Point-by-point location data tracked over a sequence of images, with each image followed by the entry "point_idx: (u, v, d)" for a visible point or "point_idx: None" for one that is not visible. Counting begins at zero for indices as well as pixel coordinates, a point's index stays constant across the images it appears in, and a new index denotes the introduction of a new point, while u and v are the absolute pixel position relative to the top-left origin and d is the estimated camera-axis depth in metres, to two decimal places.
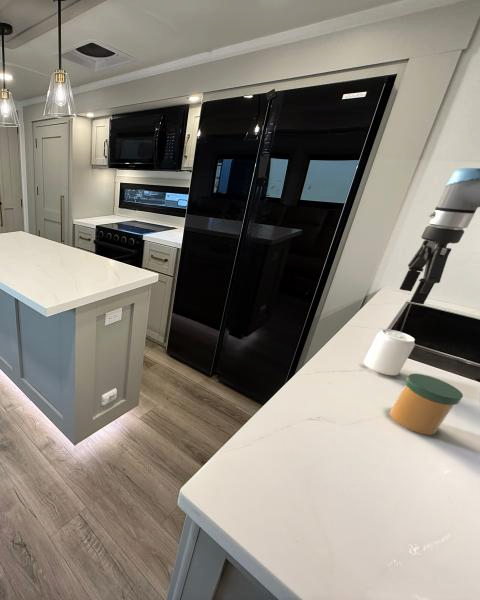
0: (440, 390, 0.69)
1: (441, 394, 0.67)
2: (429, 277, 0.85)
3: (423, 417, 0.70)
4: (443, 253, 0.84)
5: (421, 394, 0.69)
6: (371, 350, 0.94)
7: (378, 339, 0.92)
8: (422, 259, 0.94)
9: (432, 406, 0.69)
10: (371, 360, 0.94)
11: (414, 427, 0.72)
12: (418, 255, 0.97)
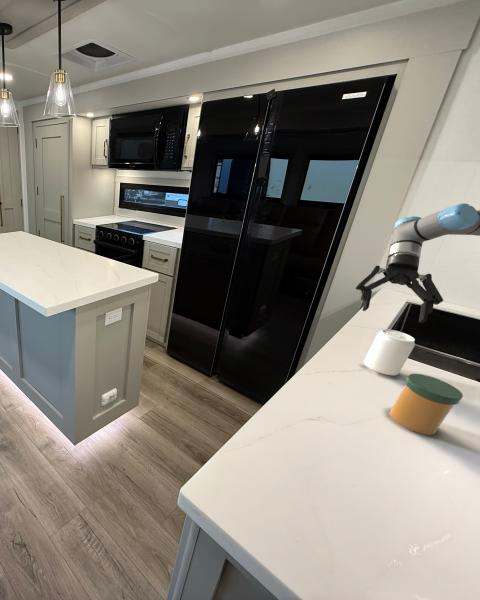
0: (440, 390, 0.69)
1: (441, 394, 0.67)
2: (357, 286, 1.05)
3: (423, 417, 0.70)
4: (373, 270, 1.05)
5: (421, 394, 0.69)
6: (371, 350, 0.94)
7: (378, 339, 0.92)
8: (412, 288, 0.99)
9: (432, 406, 0.69)
10: (371, 360, 0.94)
11: (414, 427, 0.72)
12: (427, 290, 0.98)
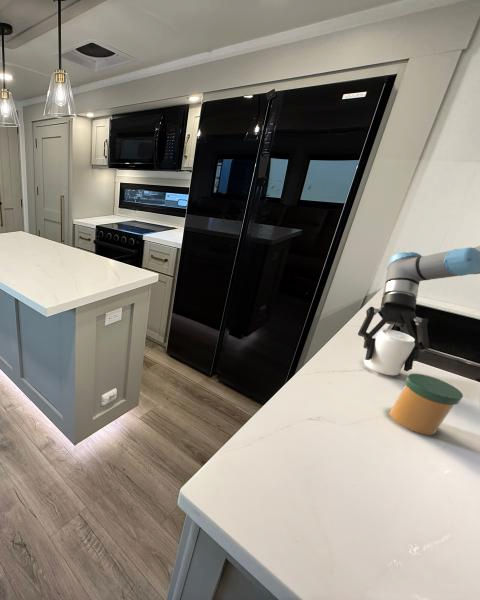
0: (440, 390, 0.69)
1: (441, 394, 0.67)
2: (358, 332, 0.98)
3: (423, 417, 0.70)
4: (368, 312, 0.98)
5: (421, 394, 0.69)
6: None
7: (378, 339, 0.92)
8: (404, 330, 0.93)
9: (432, 406, 0.69)
10: (371, 360, 0.94)
11: (414, 427, 0.72)
12: (418, 334, 0.92)
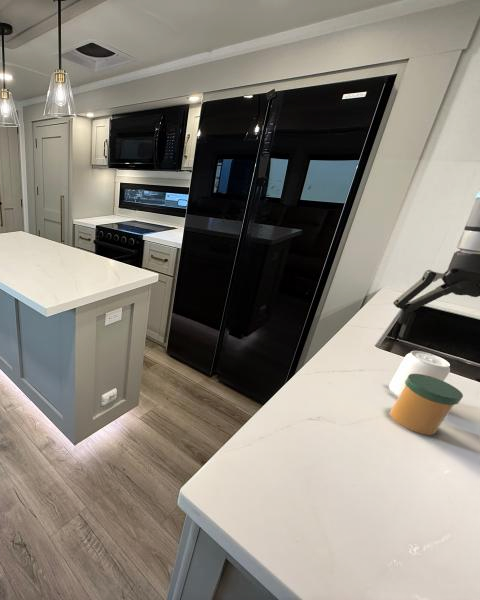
0: (440, 390, 0.69)
1: (441, 394, 0.67)
2: (396, 300, 0.74)
3: (423, 417, 0.70)
4: (424, 277, 0.70)
5: (421, 394, 0.69)
6: (398, 374, 0.83)
7: (407, 363, 0.81)
8: None
9: (432, 406, 0.69)
10: (398, 386, 0.83)
11: (414, 427, 0.72)
12: None
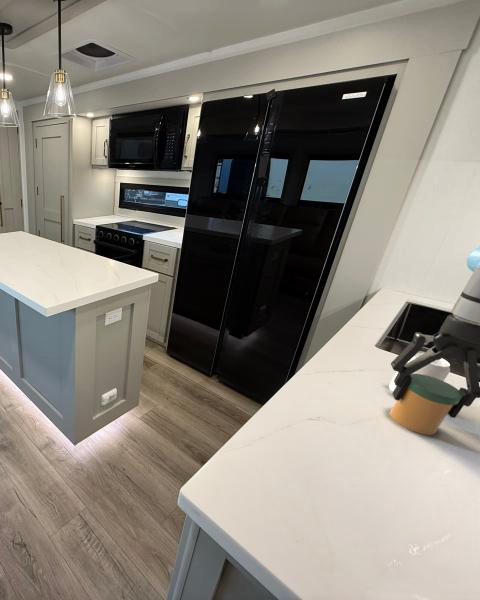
0: (440, 390, 0.69)
1: (441, 394, 0.67)
2: (392, 361, 0.74)
3: (423, 417, 0.70)
4: (415, 340, 0.70)
5: (421, 394, 0.69)
6: None
7: None
8: (465, 366, 0.67)
9: (432, 406, 0.69)
10: None
11: (414, 427, 0.72)
12: None
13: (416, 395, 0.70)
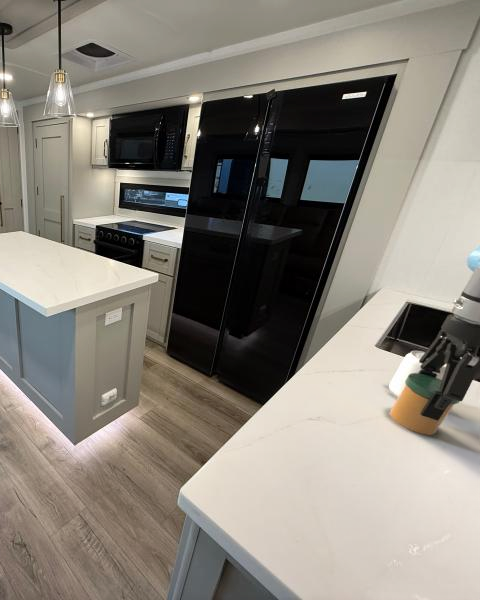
0: None
1: None
2: (448, 393, 0.64)
3: (423, 417, 0.70)
4: (472, 364, 0.61)
5: (458, 402, 0.67)
6: (398, 374, 0.83)
7: (407, 363, 0.81)
8: (441, 356, 0.70)
9: None
10: (398, 386, 0.83)
11: (414, 427, 0.72)
12: (434, 349, 0.73)
13: (416, 395, 0.70)
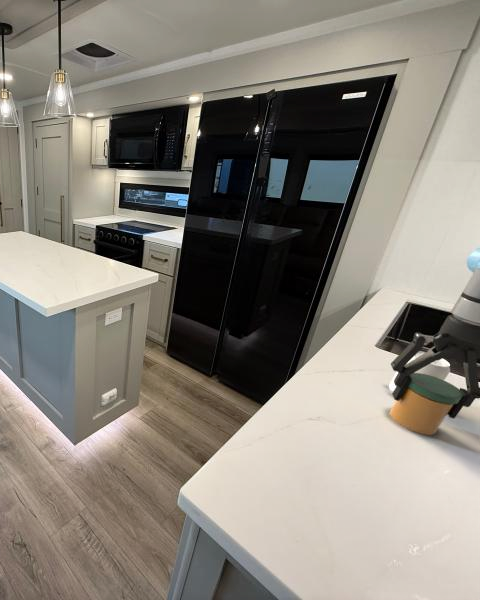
0: (429, 379, 0.72)
1: (429, 375, 0.73)
2: None
3: (423, 417, 0.70)
4: None
5: None
6: None
7: None
8: None
9: (432, 406, 0.69)
10: None
11: (414, 427, 0.72)
12: None
13: (416, 395, 0.70)
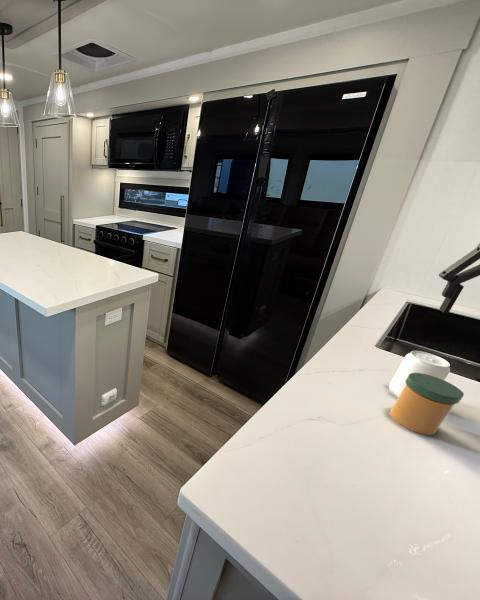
0: (429, 379, 0.72)
1: (429, 375, 0.73)
2: None
3: (423, 417, 0.70)
4: None
5: None
6: (398, 374, 0.83)
7: (407, 363, 0.81)
8: None
9: (432, 406, 0.69)
10: (398, 386, 0.83)
11: (414, 427, 0.72)
12: None
13: (416, 395, 0.70)
